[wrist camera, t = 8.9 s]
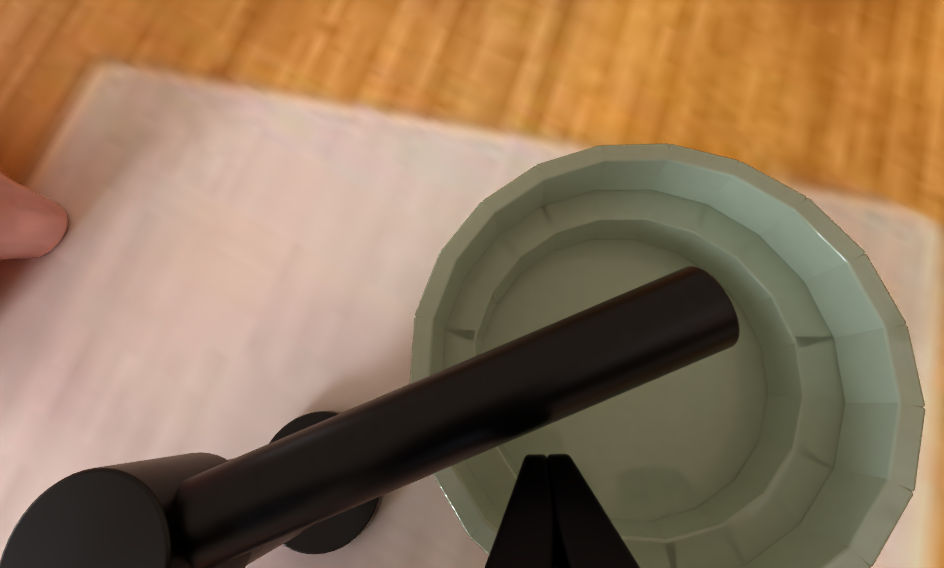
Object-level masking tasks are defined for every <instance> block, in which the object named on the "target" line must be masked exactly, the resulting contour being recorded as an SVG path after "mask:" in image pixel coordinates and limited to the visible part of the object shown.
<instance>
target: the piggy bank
mask: <svg viewBox="0 0 944 568" xmlns="http://www.w3.org/2000/svg"><path fill="white" fill-rule="evenodd" d="M67 225H68V217H67V214H66V212H65V210H64V208H63V207H62V206H61V205H60V204H58V203H57V202H55V201H53V200H51V199H49V198H47V197H45V196H43V195H41V194H39V193H37V192H35V191H33V190H31V189H29V188H27V187H26V186H24V185H22V184H20V183H18V182H17V181H15V180H14V179H12V178H11V177H9V176H8V175H7V174H6V173H5V172H4V171H3V170H2V169H1V168H0V260H5V259H20V258H37V257H40V256H43V255H44V254H46V253H48V252H49V251H50V250H52V249H53V248H54V247H55V246H56V245H57V244H58V243H59V242H60V240H61V239H62V237H63V236H64V234H65V232H66V229H67Z"/></svg>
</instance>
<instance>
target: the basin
mask: <svg viewBox="0 0 944 568" xmlns="http://www.w3.org/2000/svg"><path fill="white" fill-rule="evenodd" d="M864 253H865V252H864V250H863V249H862V248H861V247H860V246H858V245H857V244H856V243H855V242H854V241H853V240H852V239H851V238H850V237H849V236H848V235H847V234H846V233H845V232H844V231H843V230H842V229H841V228H840V227H839V226H838V225H837V224H835V223H834V222H833V221H832V220H831V219H830V218H829V217H828V216H827V215H826V214H825V213H824V212H823V211H822V210H821V209H820V208H819V207H818V206H817V205H816V204H815V203H814V202H813V201H811V200H810V199H809V198H806V196H804V195H803V194H801V193H799V192H797V191H795V190H793V189H792V188H790V187H788V186H786V185H784V184H782V183H781V182H779V181H777V180H775V179H773V178H771V177H770V176H768V175H766V174H764V173H762V172H760V171H758V170H757V169H755V168H753V167H751V166H749V165H747V164H746V163H744V162H739V160H736V159H731V158H727V157H723V156H719V155H715V154H711V153H707V152H702V151H698V150H694V149H690V148H686V147H682V146H678V145H673V144H670V145H669V144H633V145H602V146H595V147H592V148H589V149H586V150H583V151H579V152H576V153H573V154H570V155H566V156H563V157H560V158H557V159H554V160H550V161H547V162H544V163H541V164H538V165H536V166H534V167H533V168H531V169H530V170H528V171H527V172H525V173H524V174H522V175H521V176H519V177H518V178H516V179H515V180H513V181H512V182H510V183H509V184H507V185H506V186H504V187H503V188H501V189H500V190H498V191H497V192H495V193H494V194H492V195H491V196H489V197H488V198H486V199H485V200H483V202H481V203H480V204H479V205H478V206H477V208H476V209H475V210H474V211H473V212H472V214H471V215H470V216H469V217H468V219H467V220H466V221H465V222H464V223H463V225H462V226H461V227H460V228H459V230H458V231H457V232H456V233H455V234H454V236H453V237H452V238H451V239H450V241H449V242H448V243H447V244H446V245H445V247H444V248H443V249H442V250H441V253H440V254H439V255H438V258H437V260H436V263H435V265H434V268H433V270H432V273H431V275H430V278H429V280H428V283H427V285H426V288H425V290H424V293H423V295H422V298H421V300H420V303H419V305H418V308H417V310H416V313H415V316H416V317H415V318H414V329H413V343H412V356H411V370H410V383H409V384H411V383H414V382H416V381H418V380H421V379H423V378H425V377H428V376H430V375H432V374H435V373H437V372H439V371H442V370H444V369H447V368H449V367H451V366H454V365H456V364H458V363H461V362H463V361H465V360H468V359H470V358H472V357H475V356H477V355H479V354H482V353H484V352H487V351H489V350H491V349H494V348H496V347H498V346H501V345H503V344H505V343H508V342H510V341H512V340H515V339H517V338H520V337H522V336H524V335H527V334H529V333H531V332H534V331H536V330H538V329H541V328H543V327H545V326H548V325H550V324H552V323H555V322H557V321H560V320H562V319H564V318H567V317H569V316H571V315H574V314H576V313H578V312H581V311H583V310H585V309H588V308H590V307H593V306H595V305H597V304H600V303H602V302H604V301H607V300H609V299H611V298H614V297H616V296H618V295H621V294H623V293H625V292H628V291H630V290H633V289H635V288H637V287H640V286H642V285H644V284H647V283H649V282H651V281H654V280H656V279H658V278H661V277H663V276H666V275H668V274H670V273H673V272H675V271H677V270H680V269H682V268H684V267H687V266H696V267H699V268H701V269H703V270H705V271H706V272H708V273H709V274H710V275H711V276H713V277H714V278H715V279H716V280H717V282H718V283H719V284H720V285H721V286H722V288H723V289H724V290H725V292H726V294H727V295H728V297H729V299H730V300H731V302H732V304H733V306H734V309H735V311H736V314H737V317H738V321H739V327H740V335H739V339H738V341H737V343H736V344H735V345H734V346H733V347H731V348H728V349H726V350H724V351H721V352H719V353H716V354H714V355H712V356H709V357H707V358H705V359H702V360H700V361H698V362H695V363H693V364H691V365H688V366H686V367H683V368H681V369H679V370H676V371H674V372H672V373H669V374H667V375H665V376H662V377H660V378H658V379H655V380H653V381H650V382H648V383H646V384H643V385H641V386H639V387H636V388H634V389H632V390H629V391H627V392H625V393H622V394H620V395H617V396H615V397H613V398H610V399H608V400H606V401H603V402H601V403H599V404H596V405H594V406H592V407H589V408H587V409H585V410H582V411H580V412H577V413H575V414H573V415H570V416H568V417H566V418H563V419H561V420H559V421H556V422H554V423H552V424H549V425H547V426H544V427H542V428H540V429H537V430H535V431H533V432H530V433H528V434H526V435H523V436H521V437H519V438H516V439H514V440H511V441H509V442H507V443H504V444H502V445H500V446H497V447H495V448H493V449H490V450H488V451H486V452H483V453H481V454H478V455H476V456H474V457H471V458H469V459H467V460H464V461H462V462H460V463H457V464H455V465H453V466H450V467H448V468H446V469H443V470H441V471H438V472H436V473H434V474H433V476H434V477H435V479H436V481H437V482H438V484H439V486H440V488H441V489H442V491H443V493H444V495H445V496H446V498H447V500H448V501H449V503H450V505H451V507H452V508H453V510H454V512H455V513H456V515H457V517H458V519H459V520H460V522H461V524H462V526H463V527H464V529H465V531H466V532H467V534H468V535H470V537H471V539H472V540H473V541H474V542H475V543H476V544H477V545H479V546H480V547H481V548H482V549H483V550H484V551H485V552H486V553H487V554H488V555H489V554H490V551H491V549H492V546H493V543H494V540H495V537H496V535H497V532H498V529H499V526H500V524H501V521H502V518H503V515H504V512H505V510H506V507H507V504H508V501H509V498H510V496H511V493H512V490H513V487H514V485H515V482H516V479H517V476H518V473H519V471H520V468H521V465H522V462H523V460H524V457H525V456H526V455H528V454H544V455H546V457H548V455H549V454H568V455H569V456H570V457H571V458H572V459H573V461H574V463H575V464H576V466H577V467H578V469H579V471H580V472H581V474H582V475H583V477H584V479H585V480H586V482H587V483H588V485H589V487H590V488H591V490H592V491H593V493H594V495H595V496H596V498H597V499H598V501H599V503H600V504H601V506H602V507H603V509H604V511H605V512H606V514H607V515H608V517H609V519H610V520H611V522H612V523H613V525H614V527H615V528H616V530H617V531H618V533H619V535H620V536H621V538H622V539H623V541H624V543H625V544H626V546H627V547H628V549H629V551H630V552H631V554H632V555H633V557H634V559H635V560H636V562H637V563H638V565H639V567H640V568H870V567H871V566H873V565H874V563H875V561H876V559H877V557H878V556H879V554H880V552H881V550H882V549H883V547H884V545H885V543H886V542H887V540H888V538H889V536H890V534H891V533H892V531H893V529H894V527H895V526H896V524H897V522H898V520H899V519H900V517H901V515H902V513H903V511H904V510H905V508H906V506H907V504H908V503H909V501H910V499H911V497H912V496H913V493H912V491H914V490H915V483H916V475H917V468H918V460H919V453H920V445H921V437H922V430H923V422H924V415H925V408H923V407H924V406H925V403H924V399H923V394H922V390H921V385H920V381H919V376H918V371H917V367H916V362H915V358H914V353H913V348H912V344H911V339H910V335H909V330H908V327H907V326H906V325H905V324H906V322H905V320H904V318H903V316H902V315H901V313H900V311H899V309H898V308H897V306H896V304H895V303H894V301H893V299H892V297H891V296H890V294H889V292H888V290H887V289H886V287H885V285H884V284H883V282H882V280H881V278H880V277H879V275H878V273H877V271H876V270H875V268H874V266H873V265H872V263H871V261H870V259H869V258H868V256H867V255H866V254H864Z"/></svg>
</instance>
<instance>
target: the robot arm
mask: <svg viewBox="0 0 944 568" xmlns="http://www.w3.org/2000/svg"><path fill="white" fill-rule="evenodd" d="M485 568H640V567H639V565H638V563H637V562H636V560H635V559H634V557H633V555H632V554H631V552H630V551H629V549H628V547H627V546H626V544H625V543H624V541H623V539H622V538H621V536H620V535H619V533H618V531H617V530H616V528H615V527H614V525H613V523H612V522H611V520H610V519H609V517H608V515H607V514H606V512H605V511H604V509H603V507H602V506H601V504H600V503H599V501H598V499H597V498H596V496H595V495H594V493H593V491H592V490H591V488H590V487H589V485H588V483H587V482H586V480H585V479H584V477H583V475H582V474H581V472H580V471H579V469H578V467H577V466H576V464H575V463H574V461H573V459H572V458H571V457H570V456H569V455H568V454H549V455H548V457H546V455H544V454H528V455H526V456H525V457H524V460H523V462H522V465H521V468H520V471H519V473H518V476H517V479H516V482H515V485H514V487H513V490H512V493H511V496H510V498H509V501H508V504H507V507H506V510H505V512H504V515H503V518H502V521H501V524H500V526H499V529H498V532H497V535H496V537H495V540H494V543H493V546H492V549H491V551H490V554H489V557H488V560H487V563H486V565H485Z"/></svg>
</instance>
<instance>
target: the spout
mask: <svg viewBox="0 0 944 568" xmlns="http://www.w3.org/2000/svg"><path fill="white" fill-rule="evenodd" d="M739 335H740V327H739V321H738V317H737V314H736V311H735V309H734V306H733V304H732V302H731V300H730V299H729V297H728V295H727V294H726V292H725V290H724V289H723V288H722V286H721V285H720V284H719V283H718V282H717V280H716V279H715V278H714V277H713V276H711V275H710V274H709V273H708V272H706V271H705V270H703V269H701V268H699V267H696V266H687V267H684V268H682V269H680V270H677V271H675V272H673V273H670V274H668V275H666V276H663V277H661V278H658V279H656V280H654V281H651V282H649V283H647V284H644V285H642V286H640V287H637V288H635V289H633V290H630V291H628V292H625V293H623V294H621V295H618V296H616V297H614V298H611V299H609V300H607V301H604V302H602V303H600V304H597V305H595V306H593V307H590V308H588V309H585V310H583V311H581V312H578V313H576V314H574V315H571V316H569V317H567V318H564V319H562V320H560V321H557V322H555V323H552V324H550V325H548V326H545V327H543V328H541V329H538V330H536V331H534V332H531V333H529V334H527V335H524V336H522V337H520V338H517V339H515V340H512V341H510V342H508V343H505V344H503V345H501V346H498V347H496V348H494V349H491V350H489V351H487V352H484V353H482V354H479V355H477V356H475V357H472V358H470V359H468V360H465V361H463V362H461V363H458V364H456V365H454V366H451V367H449V368H447V369H444V370H442V371H439V372H437V373H435V374H432V375H430V376H428V377H425V378H423V379H421V380H418V381H416V382H414V383H411V384H409V385H406V386H404V387H402V388H399V389H397V390H395V391H392V392H390V393H388V394H385V395H383V396H381V397H378V398H376V399H374V400H371V401H369V402H366V403H364V404H362V405H359V406H357V407H355V408H352V409H350V410H348V411H345V412H343V413H341V414H338V415H336V416H333V417H331V418H329V419H326V420H324V421H322V422H319V423H317V424H315V425H312V426H310V427H308V428H305V429H303V430H301V431H298V432H296V433H293V434H291V435H289V436H286V437H284V438H282V439H279V440H277V441H275V442H272V443H270V444H268V445H265V446H263V447H260V448H258V449H256V450H253V451H251V452H249V453H246V454H244V455H242V456H239V457H237V458H235V459H232V460H230V461H228V460H226V459H225V458H222V457H220V456H218V455H214V454H210V453H190V454H183V455H176V456H170V457H163V458H157V459H150V460H144V461H137V462H131V463H124V464H117V465H111V466H104V467H98V468H92V469H87V470H83V471H80V472H77V473H74V474H72V475H70V476H68V477H66V478H64V479H62V480H60V481H59V482H57V483H56V484H54V485H53V486H51V487H50V488H48V489H47V490H46V491H45V492H44V493H42V494H41V495H40V496H39V497H38V498H37V499H36V500H35V501H34V502H33V503H32V504H31V505H30V507H29V508H28V509H27V510H26V512H25V513H24V514H23V515H22V517H21V518H20V520H19V521H18V523H17V525H16V526H15V528H14V530H13V532H12V534H11V535H10V537H9V539H8V542H7V544H6V547H5V549H4V551H3V554H2V558H1V561H0V568H245V567H246V565H247V563H248V561H249V558H250V556H251V553H252V551H253V550H255V549H257V548H259V547H262V546H264V545H266V544H269V543H271V542H274V541H276V540H278V539H281V538H283V537H285V536H288V535H290V534H292V533H295V532H297V531H299V530H302V529H304V528H307V527H309V526H311V525H314V524H316V523H318V522H321V521H323V520H325V519H328V518H330V517H332V516H335V515H337V514H339V513H342V512H344V511H347V510H349V509H351V508H354V507H356V506H358V505H361V504H363V503H365V502H368V501H370V500H372V499H375V498H377V497H380V496H382V495H384V494H387V493H389V492H391V491H394V490H396V489H398V488H401V487H403V486H405V485H408V484H410V483H413V482H415V481H417V480H420V479H422V478H424V477H427V476H429V475H431V474H434V473H436V472H438V471H441V470H443V469H446V468H448V467H450V466H453V465H455V464H457V463H460V462H462V461H464V460H467V459H469V458H471V457H474V456H476V455H478V454H481V453H483V452H486V451H488V450H490V449H493V448H495V447H497V446H500V445H502V444H504V443H507V442H509V441H511V440H514V439H516V438H519V437H521V436H523V435H526V434H528V433H530V432H533V431H535V430H537V429H540V428H542V427H544V426H547V425H549V424H552V423H554V422H556V421H559V420H561V419H563V418H566V417H568V416H570V415H573V414H575V413H577V412H580V411H582V410H585V409H587V408H589V407H592V406H594V405H596V404H599V403H601V402H603V401H606V400H608V399H610V398H613V397H615V396H617V395H620V394H622V393H625V392H627V391H629V390H632V389H634V388H636V387H639V386H641V385H643V384H646V383H648V382H650V381H653V380H655V379H658V378H660V377H662V376H665V375H667V374H669V373H672V372H674V371H676V370H679V369H681V368H683V367H686V366H688V365H691V364H693V363H695V362H698V361H700V360H702V359H705V358H707V357H709V356H712V355H714V354H716V353H719V352H721V351H724V350H726V349H728V348H731V347H733V346H734V345H735V344H736V343H737V341H738V339H739Z"/></svg>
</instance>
